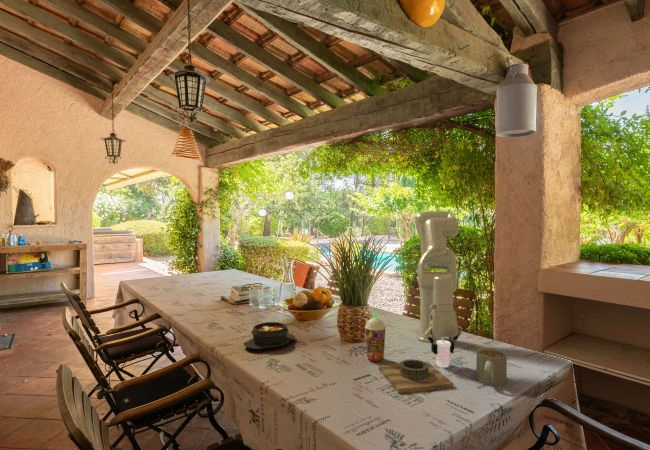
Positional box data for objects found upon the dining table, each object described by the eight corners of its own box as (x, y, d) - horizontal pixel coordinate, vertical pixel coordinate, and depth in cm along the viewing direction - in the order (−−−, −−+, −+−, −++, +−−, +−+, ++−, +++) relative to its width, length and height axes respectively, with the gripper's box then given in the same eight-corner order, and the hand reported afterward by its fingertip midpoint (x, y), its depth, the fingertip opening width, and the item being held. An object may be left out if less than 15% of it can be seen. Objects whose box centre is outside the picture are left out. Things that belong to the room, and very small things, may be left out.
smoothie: (369, 364, 157) (369, 314, 156) (362, 357, 165) (361, 309, 164) (389, 362, 159) (389, 312, 158) (380, 355, 167) (380, 307, 166)
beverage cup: (440, 368, 152) (440, 332, 151) (431, 363, 158) (431, 328, 157) (454, 367, 154) (454, 331, 153) (445, 361, 159) (445, 327, 159)
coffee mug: (483, 371, 149) (483, 345, 149) (510, 379, 142) (510, 351, 142) (467, 383, 139) (467, 355, 139) (496, 392, 133) (496, 362, 132)
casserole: (259, 357, 166) (259, 337, 166) (235, 346, 179) (235, 328, 179) (304, 342, 184) (304, 324, 183) (279, 334, 197) (278, 317, 196)
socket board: (378, 369, 152) (378, 356, 151) (427, 365, 156) (427, 352, 155) (398, 393, 132) (398, 378, 132) (453, 387, 136) (453, 373, 136)
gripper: (426, 310, 149) (426, 357, 150) (468, 308, 153) (468, 354, 154) (418, 306, 157) (418, 351, 158) (458, 303, 160) (457, 347, 161)
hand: (442, 352), depth 156 cm, fingers closed on beverage cup, 6 cm apart
